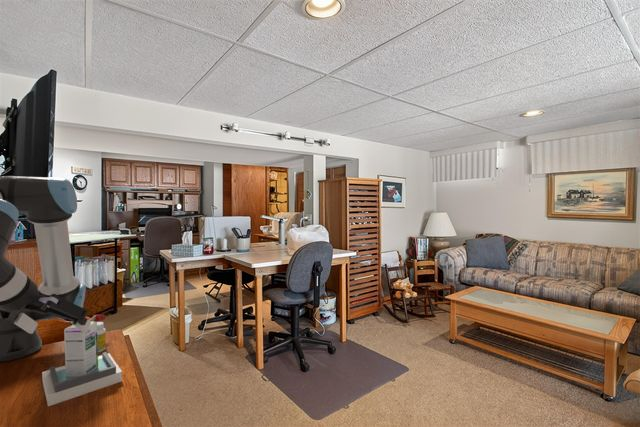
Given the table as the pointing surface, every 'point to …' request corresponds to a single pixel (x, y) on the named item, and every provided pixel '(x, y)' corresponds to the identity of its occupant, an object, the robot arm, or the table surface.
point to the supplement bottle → (101, 336)
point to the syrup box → (81, 350)
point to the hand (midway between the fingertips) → (60, 328)
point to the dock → (79, 380)
